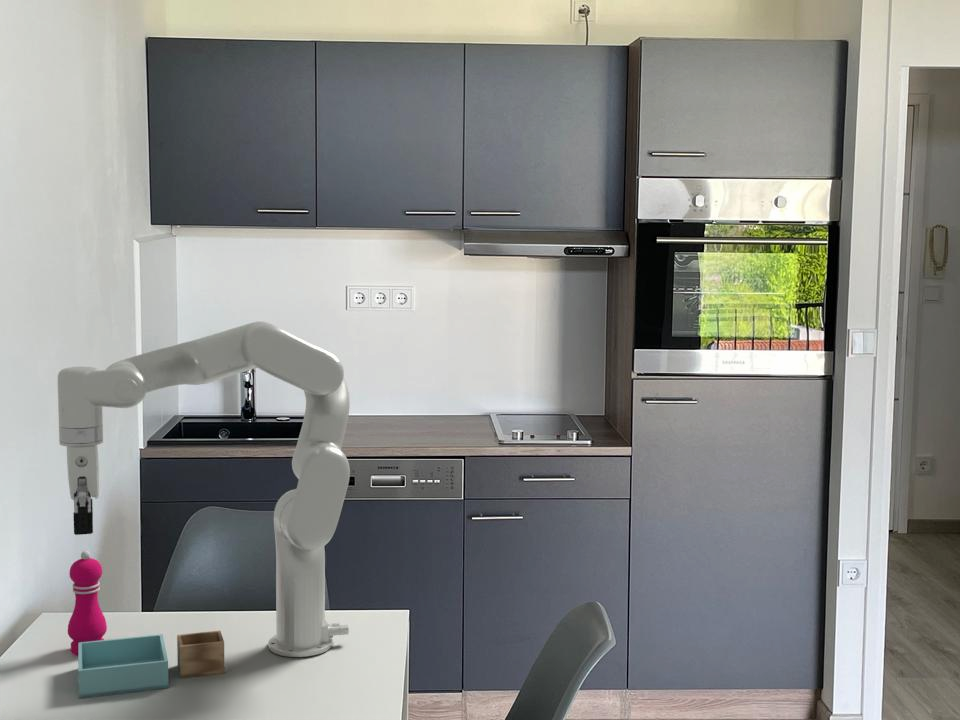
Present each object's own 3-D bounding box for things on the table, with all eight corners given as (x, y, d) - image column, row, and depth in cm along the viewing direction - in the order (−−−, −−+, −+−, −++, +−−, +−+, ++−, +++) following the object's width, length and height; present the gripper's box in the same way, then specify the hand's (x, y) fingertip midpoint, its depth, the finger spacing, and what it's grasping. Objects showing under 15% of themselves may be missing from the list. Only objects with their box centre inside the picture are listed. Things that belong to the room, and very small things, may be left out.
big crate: (163, 659, 214) (162, 634, 214) (168, 687, 201) (168, 661, 200) (79, 668, 209) (78, 642, 209) (79, 698, 196) (78, 671, 195)
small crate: (220, 660, 214) (220, 630, 213) (224, 673, 208) (224, 642, 208) (177, 665, 212) (177, 634, 211) (180, 678, 206) (179, 646, 205)
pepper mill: (94, 658, 214) (92, 557, 212) (60, 655, 215) (57, 554, 213) (114, 645, 221) (112, 547, 219) (81, 642, 222) (78, 544, 220)
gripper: (103, 442, 196) (105, 537, 198) (102, 426, 212) (104, 514, 214) (57, 445, 193) (60, 541, 195) (60, 427, 209) (62, 516, 211)
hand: (83, 526), depth 204 cm, fingers open, 9 cm apart
